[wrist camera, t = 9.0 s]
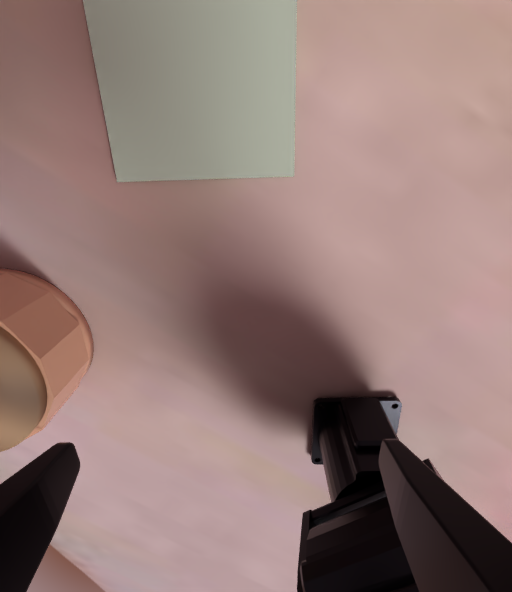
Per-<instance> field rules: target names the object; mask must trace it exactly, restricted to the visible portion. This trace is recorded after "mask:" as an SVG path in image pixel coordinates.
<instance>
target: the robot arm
mask: <svg viewBox="0 0 512 592" xmlns="http://www.w3.org/2000/svg"><path fill="white" fill-rule="evenodd" d="M395 403H396V404H395ZM393 404H395V405H393ZM319 405H322V406H319ZM401 408H402V404H401V402H400V400H399V399H398V398H396V397H372V398H319V399H316V400H315V401H314V403H313V422H312V442H311V460H312V463H314V464H323V465H324V470H325V474H326V479H327V484H328V489H329V494H330V498H331V503H329V504H327V505H324V506H322V507H320V508H317V509H315V510H313V511H312V510H309V511H306V512H304V513H303V518H302V529H301V541H300V552H299V563H298V583H297V592H512V543H511V542H510V541H509V540H508V539H507V538H506V537H505V536H503V535H502V534H501V533H500V532H499V531H498V530H497V529H496V528H495V527H494V526H493V525H491V524H490V523H489V522H488V521H487V520H486V519H485V518H484V517H483V516H482V515H480V514H479V513H478V512H477V511H476V510H475V509H474V508H473V507H472V506H471V505H470V504H468V503H467V502H466V501H465V500H464V499H463V498H462V497H461V496H460V495H459V494H457V493H456V492H455V491H454V490H453V489H452V488H451V487H450V486H449V485H448V484H447V483H445V482H444V480H443V479H442V477H441V476H440V474H439V473H438V471H437V470H436V469H435V467H434V466H433V464H432V463H431V461H430V460H429V458H428V459H426V460H424V461H421V460H420V459H419V458H418V457H417V456H416V455H415V454H414V453H413V452H411V451H410V450H409V449H408V448H407V447H406V446H405V445H404V444H403V443H402V442H400V441H399V439H398V437H397V435H396V434H397V429H398V424H399V418H400V413H401ZM79 469H80V460H79V457H78V454H77V452H76V449H75V446H74V444H73V443H70V442H68V443H57V444H55V445H54V446H52V447H51V448H50V449H48V450H47V451H45V452H44V453H43V454H41V455H40V456H39V457H37V458H36V459H34V460H33V461H32V462H30V463H29V464H28V465H26V466H25V467H24V468H22V469H21V470H19V471H18V472H17V473H15V474H14V475H13V476H11V477H10V478H8V479H7V480H6V481H4V482H3V483H2V484H0V592H26V591H27V589H28V587H29V585H30V583H31V581H32V579H33V577H34V575H35V573H36V571H37V569H38V567H39V565H40V562H41V560H42V558H43V556H44V554H45V552H46V550H47V548H48V546H49V544H50V542H51V540H52V538H53V536H54V533H55V531H56V529H57V527H58V524H59V522H60V520H61V517H62V514H63V512H64V509H65V507H66V504H67V501H68V499H69V496H70V494H71V491H72V488H73V486H74V483H75V480H76V478H77V475H78V473H79Z"/></svg>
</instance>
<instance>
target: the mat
mask: <svg viewBox="0 0 512 592" xmlns="http://www.w3.org/2000/svg"><path fill="white" fill-rule="evenodd" d="M83 5H84V10H85V15H86V21H87V26H88V31H89V37H90V42H91V47H92V52H93V58H94V63H95V68H96V74H97V79H98V84H99V89H100V95H101V100H102V105H103V111H104V116H105V121H106V126H107V132H108V137H109V142H110V148H111V153H112V158H113V163H114V169H115V174H116V179H117V182H138V181H169V180H201V179H232V178H263V177H294V156H295V92H296V27H297V0H83Z"/></svg>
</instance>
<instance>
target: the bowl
mask: <svg viewBox="0 0 512 592" xmlns="http://www.w3.org/2000/svg"><path fill="white" fill-rule="evenodd" d="M0 326H1V327H2V328H3V329H5V330H6V331H8V332H9V333H10V334H11V335H12V336H13V337H15V338H16V339H17V340H18V341H19V342H20V343H21V344H22V345H23V346H24V347H25V348H26V349H27V350H28V352H29V353H30V354H31V356H32V357H33V358H34V360H35V361H36V363H37V365H38V367H39V368H40V370H41V373H42V375H43V377H44V380H45V384H46V387H47V407H46V411H45V413H44V416H43V418H42V420H41V421H40V422H39V424H38V425H37V426H36V427H35V429H34V430H33V431H32V432H31V433H30V434H29V436H28V437H27V438H29V437H30V436H32V435H34V434H36V433H38V432H39V431H41V430H43V429H44V428H45V426H46V425H47V424H48V423H49V422H50V420H51V419H52V418H53V417H54V415H55V414H56V413H57V412H58V411H59V409H60V408H61V407H62V406H63V404H64V403H65V402H66V401H67V400H68V398H69V397H70V396H71V395H72V394H73V392H74V391H75V390H76V389H77V387H78V386H79V383H80V381H81V379H82V377H83V376H84V375H85V374H86V372H87V371H88V369H89V367H90V365H91V362H92V358H93V351H94V348H93V339H92V334H91V331H90V328H89V325H88V323H87V321H86V319H85V318H84V316H83V314H82V313H81V311H80V310H79V309H78V307H77V306H76V305H75V304H74V303H73V302H72V301H71V300H70V299H69V298H68V297H67V296H66V295H65V294H64V293H63V292H62V291H60V290H59V289H58V288H56V287H55V286H53V285H52V284H50V283H49V282H47V281H45V280H43V279H41V278H39V277H37V276H34V275H31V274H29V273H25V272H22V271H18V270H12V269H0ZM27 438H26V439H27ZM24 440H25V439H24Z"/></svg>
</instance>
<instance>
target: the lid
mask: <svg viewBox="0 0 512 592" xmlns="http://www.w3.org/2000/svg"><path fill="white" fill-rule="evenodd" d="M46 407H47V387H46V384H45V380H44V377H43V375H42V373H41V370H40V368H39V367H38V365H37V363H36V361H35V360H34V358H33V357H32V356H31V354H30V353H29V352H28V350H27V349H26V348H25V347H24V346H23V345H22V344H21V343H20V342H19V341H18V340H17V339H16V338H15V337H13V336H12V335H11V334H10V333H9V332H8V331H6V330H5V329H3V328H2V327H1V326H0V452H1V451H4V450H8V449H10V448H12V447H14V446H16V445H18V444H19V443H21V442H22V441H23V440H24V439H26V438H27V437H28V436H29V434H30V433H31V432H32V431H33V430H34V429H35V427H36V426H37V425H38V424H39V422H40V421H41V420H42V418H43V416H44V413H45V411H46Z"/></svg>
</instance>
